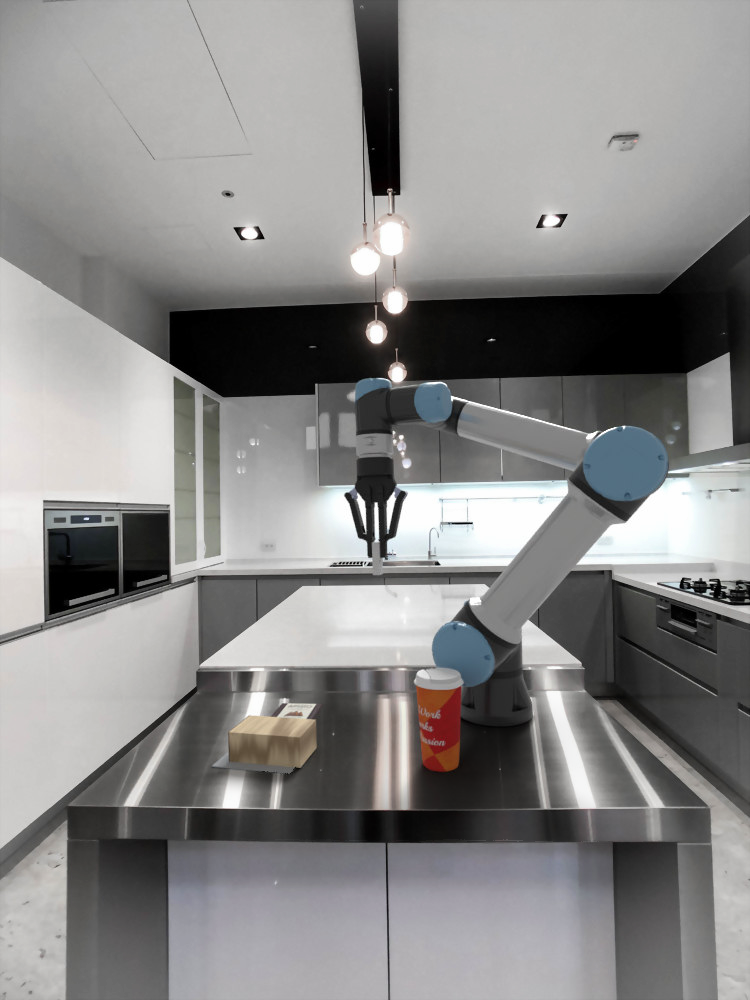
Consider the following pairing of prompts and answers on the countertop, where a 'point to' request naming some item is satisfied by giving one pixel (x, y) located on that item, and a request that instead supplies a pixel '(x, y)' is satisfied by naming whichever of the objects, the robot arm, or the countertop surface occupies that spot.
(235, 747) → the oak block
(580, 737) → the countertop surface
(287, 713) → the chocolate bar
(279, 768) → the felt mat
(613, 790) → the countertop surface
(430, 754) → the coffee cup
